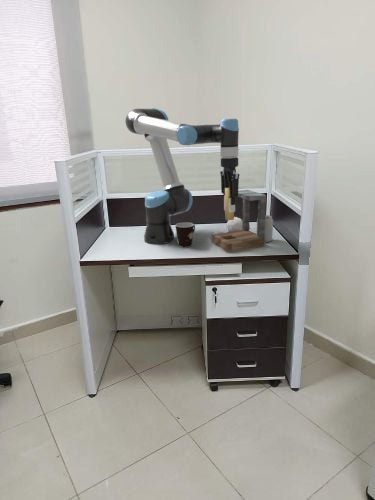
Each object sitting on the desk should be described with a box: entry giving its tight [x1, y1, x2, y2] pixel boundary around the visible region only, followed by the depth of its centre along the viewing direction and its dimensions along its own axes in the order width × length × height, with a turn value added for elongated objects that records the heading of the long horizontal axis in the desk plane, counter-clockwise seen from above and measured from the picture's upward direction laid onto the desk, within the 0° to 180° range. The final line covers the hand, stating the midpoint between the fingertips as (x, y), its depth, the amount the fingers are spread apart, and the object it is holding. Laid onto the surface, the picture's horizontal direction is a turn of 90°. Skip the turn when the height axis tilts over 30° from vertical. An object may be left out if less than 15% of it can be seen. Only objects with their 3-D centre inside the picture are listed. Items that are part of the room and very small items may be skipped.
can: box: [256, 214, 274, 244], centre depth 165 cm, size 8×8×12 cm
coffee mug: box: [175, 221, 196, 248], centre depth 164 cm, size 12×9×10 cm
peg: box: [224, 187, 235, 221], centre depth 155 cm, size 4×4×14 cm
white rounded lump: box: [226, 216, 251, 232], centre depth 178 cm, size 9×9×12 cm
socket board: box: [211, 189, 267, 253], centre depth 160 cm, size 16×19×24 cm
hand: (229, 210), depth 156 cm, fingers closed on peg, 4 cm apart
